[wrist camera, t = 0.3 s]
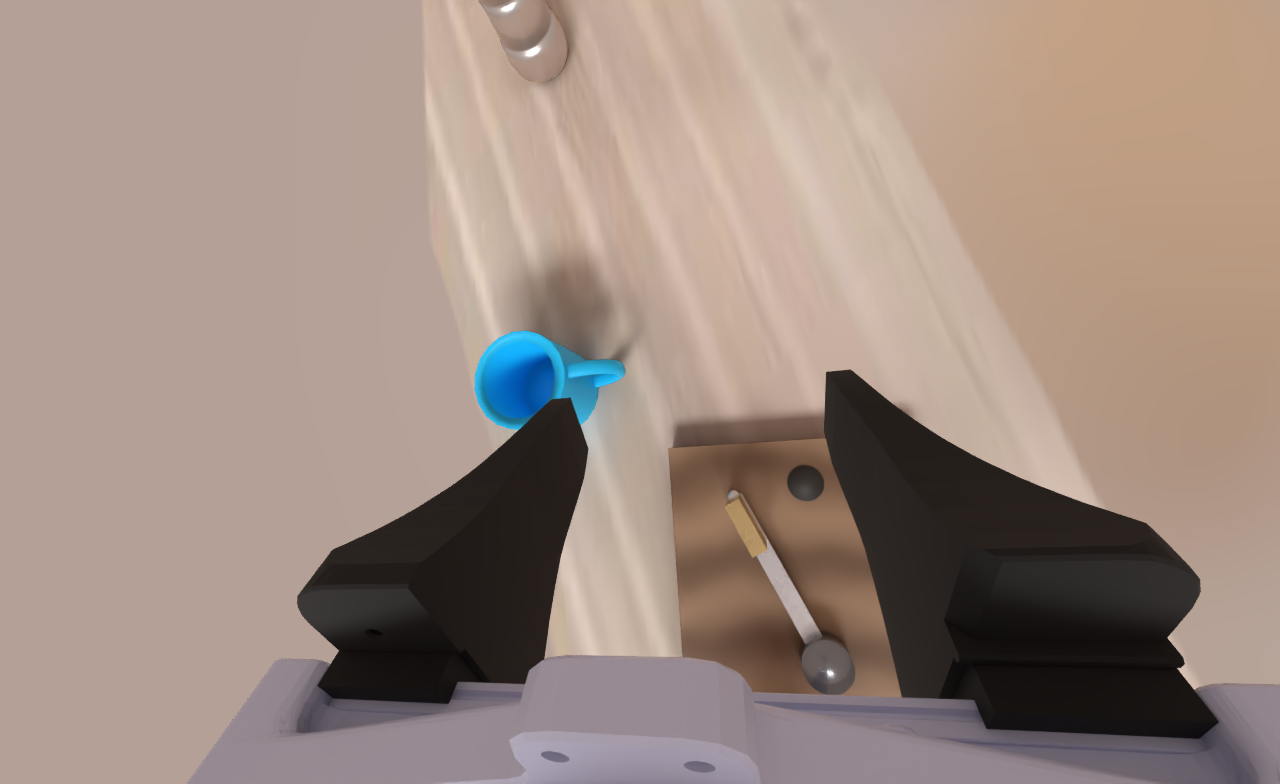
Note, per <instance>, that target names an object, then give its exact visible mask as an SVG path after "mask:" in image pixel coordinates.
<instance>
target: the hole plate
mask: <svg viewBox="0 0 1280 784" xmlns="http://www.w3.org/2000/svg"><path fill="white" fill-rule="evenodd" d="M668 450H669V465H670V479H671V494H672V508H673V523H674V537H675V552H676V566H677V581H678V596H679V610H680V625H681V639H682V654H683V657H684V658H695V659H702V660H708V661H715V662H718V663H720V664H722V665H724V666H726V667H729V668H731V669H733V670H735V671H737V672H738V673H739V674H740V675H741V676H742V677H743V678H744V679H745V681H746V682H747V683H748V685H749V686H750V688H751V689H752V692H761V693H789V694H818V695H825V694H822V693H820V692H818V691H817V690H815V689H814V688H813V687H812V686H811V685H810V684H809V683H808V682H807V680H806V678H805V676H804V673H803V669H802V665H801V660H800V646H801V644H802V642H803V639H802V637H801V635H800V633H799V632H798V630H797V628H796V626H795V624H794V623H793V621H792V619H791V617H790V615H789V614H788V612H787V610H786V608H785V606H784V605H783V603H782V601H781V599H780V597H779V596H778V594H777V592H776V590H775V588H774V587H773V585H772V583H771V581H770V579H769V578H768V576H767V574H766V572H765V570H764V569H763V567H762V565H761V563H760V561H759V560H758V558H757V556H755V557H753V558H752V556H751V554H750V552H749V551H748V549H747V547H746V545H745V543H744V542H743V540H742V538H741V536H740V534H739V533H738V531H737V529H736V527H735V525H734V524H733V522H732V520H731V518H730V516H729V514H728V513H727V511H726V509H725V507H724V506H725V504H726V500H728V493H729V492H730V491H731V490H737V491H738V492H739V493H741V492H742V494H743V495H744V497H745V499H746V501H747V502H748V504H749V506H750V508H751V510H752V511H753V513H754V515H755V517H756V518H757V520H758V522H759V524H760V525H761V527H762V529H763V531H764V532H765V534H766V536H767V538H768V540H769V541H770V543H771V545H772V547H773V548H774V550H775V552H776V554H777V555H778V557H779V559H780V561H781V562H782V564H783V566H784V568H785V570H786V571H787V573H788V575H789V577H790V578H791V580H792V582H793V584H794V585H795V587H796V589H797V591H798V593H799V594H800V596H801V598H802V600H803V601H804V603H805V605H806V607H807V608H808V610H809V612H810V614H811V615H812V617H813V619H814V621H815V623H816V624H817V626H818V628H819V630H820V631H822V632H828V633H831V634H833V635H835V636H837V637H838V638H839V639H840V640H841V641H842V642H843V643H844V644H845V646H846V647H847V649H848V652H849V654H850V656H851V658H852V660H853V663H854V666H855V680H854V682H853V684H852V686H851V687H850V689H849V690H847V691H846V692H845V693H843V694H840V695H846V696H874V697H902V696H901V692H900V687H899V683H898V678H897V674H896V669H895V665H894V661H893V657H892V653H891V648H890V644H889V640H888V636H887V632H886V628H885V623H884V619H883V616H882V612H881V608H880V604H879V600H878V596H877V592H876V588H875V585H874V581H873V577H872V574H871V570H870V566H869V563H868V559H867V555H866V552H865V548H864V545H863V542H862V539H861V537H860V534H859V531H858V528H857V526H856V523H855V521H854V518H853V516H852V513H851V511H850V508H849V506H848V503H847V501H846V498H845V496H844V493H843V491H842V488H841V485H840V483H839V480H838V478H837V475H836V473H835V470H834V467H833V465H832V462H831V458H830V454H829V450H828V446H827V441H826V438H820V439H804V440H789V441H773V442H757V443H742V444H726V445H710V446H695V447H679V448H668Z"/></svg>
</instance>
